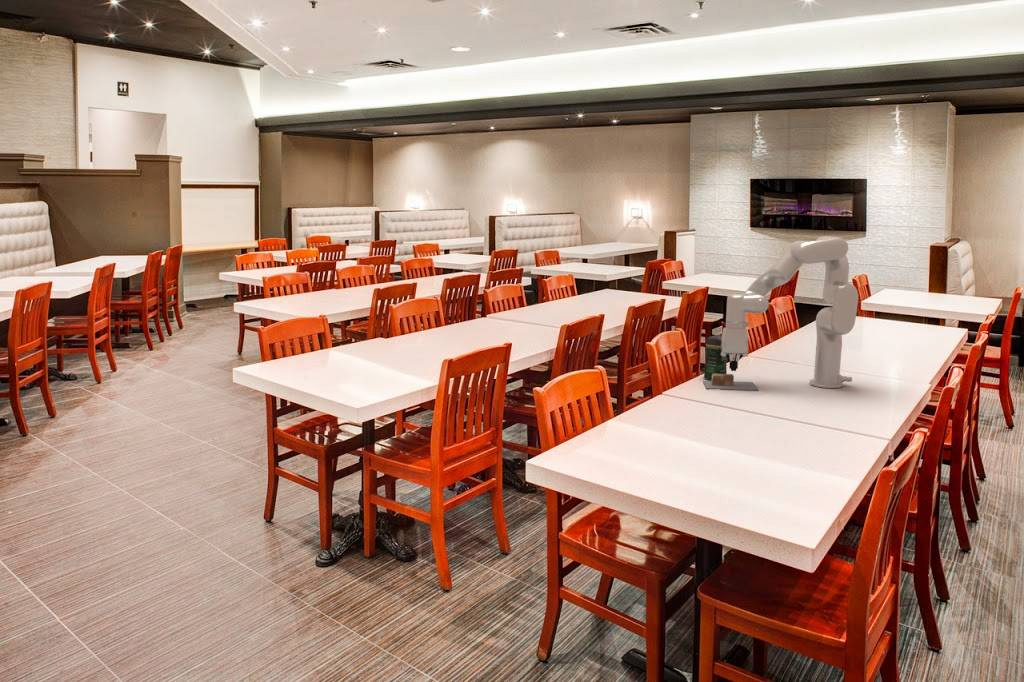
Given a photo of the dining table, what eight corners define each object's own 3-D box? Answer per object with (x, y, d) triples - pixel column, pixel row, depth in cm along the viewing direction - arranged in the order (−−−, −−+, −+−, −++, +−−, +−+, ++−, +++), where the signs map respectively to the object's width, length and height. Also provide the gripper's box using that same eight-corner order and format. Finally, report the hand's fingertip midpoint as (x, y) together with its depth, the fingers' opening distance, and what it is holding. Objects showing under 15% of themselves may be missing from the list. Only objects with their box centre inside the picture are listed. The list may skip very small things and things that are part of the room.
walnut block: (732, 374, 305) (711, 373, 306) (733, 376, 301) (712, 375, 302) (732, 383, 306) (711, 383, 307) (733, 386, 302) (712, 385, 303)
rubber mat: (752, 383, 309) (752, 381, 309) (758, 390, 296) (758, 389, 296) (702, 381, 312) (702, 380, 311) (706, 389, 299) (706, 387, 299)
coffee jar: (718, 382, 311) (720, 338, 308) (701, 379, 316) (703, 335, 313) (729, 378, 318) (731, 335, 315) (712, 375, 323) (714, 332, 320)
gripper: (753, 324, 302) (750, 369, 305) (715, 323, 304) (713, 368, 307) (756, 327, 295) (754, 373, 298) (717, 326, 297) (715, 372, 300)
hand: (733, 370), depth 303 cm, fingers closed
